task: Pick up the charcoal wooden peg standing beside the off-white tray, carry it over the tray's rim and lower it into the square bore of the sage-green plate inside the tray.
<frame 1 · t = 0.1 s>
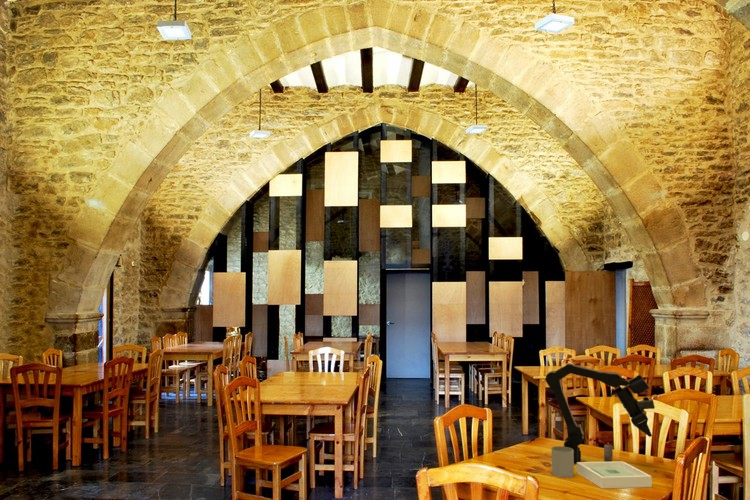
hand: (650, 434, 247), 15 cm above the table, tool tilted 30°, fingers open, 9 cm apart
peg: (608, 467, 250), on the table
cup: (562, 474, 239), on the table
tray: (612, 479, 233), on the table
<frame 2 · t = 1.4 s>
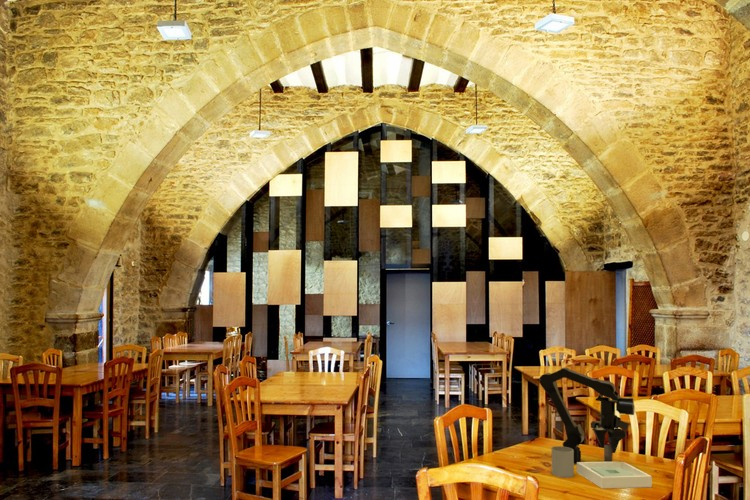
hand: (607, 449, 250), 7 cm above the table, tool pointing down, fingers open, 9 cm apart
nothing on the table moved.
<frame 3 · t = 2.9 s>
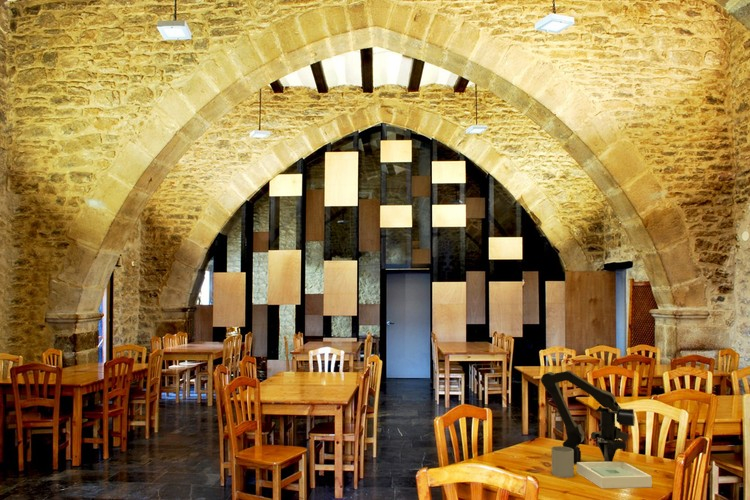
hand: (608, 461, 250), 3 cm above the table, tool pointing down, fingers closed on peg, 3 cm apart
peg: (608, 467, 250), on the table, touching gripper
everything else where it was.
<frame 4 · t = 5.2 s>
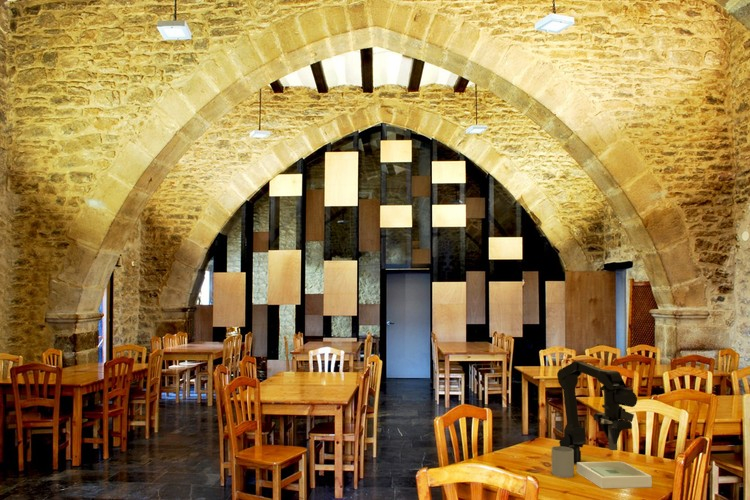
hand: (612, 442, 237), 13 cm above the table, tool pointing down, fingers closed on peg, 3 cm apart
peg: (613, 449, 236), point 11 cm above the table, touching gripper
everything else where it was.
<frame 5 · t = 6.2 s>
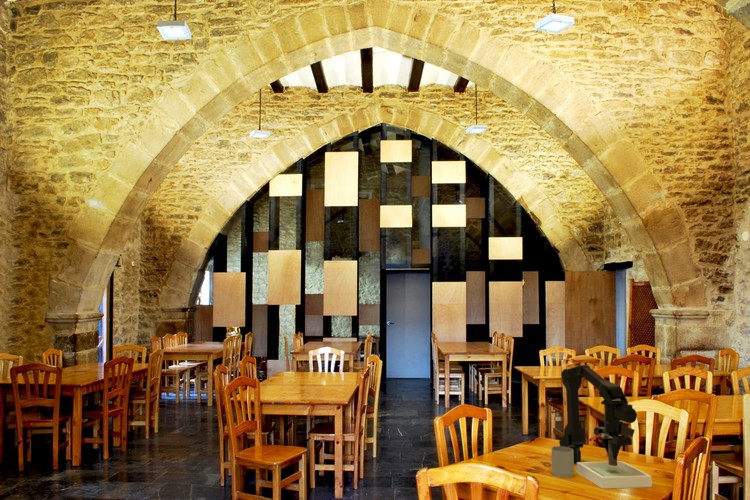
hand: (612, 458, 234), 8 cm above the table, tool pointing down, fingers closed on peg, 3 cm apart
peg: (612, 464, 233), point 6 cm above the table, touching gripper
everything else where it was.
when the fingers open (4 cm above the table, at t = 7.3 s): peg stays where it is, resting on tray.
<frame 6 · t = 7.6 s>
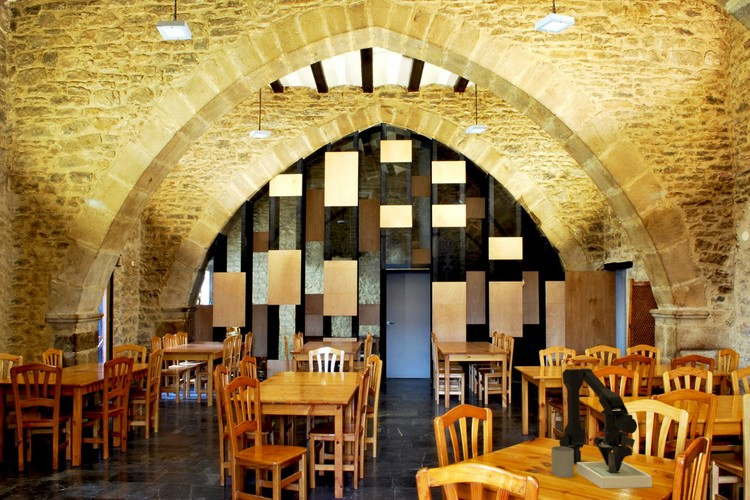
hand: (612, 468, 233), 4 cm above the table, tool pointing down, fingers open, 7 cm apart
peg: (613, 476, 233), point 1 cm above the table, touching tray
everything else where it was.
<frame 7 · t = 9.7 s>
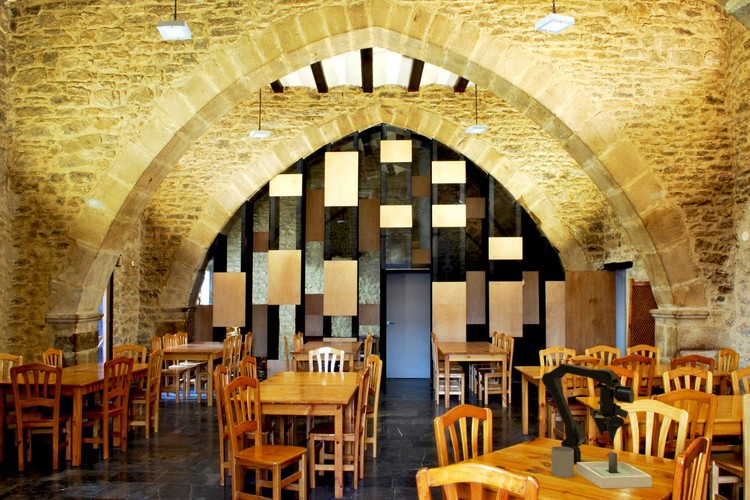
hand: (606, 437, 248), 13 cm above the table, tool pointing down, fingers open, 9 cm apart
nothing on the table moved.
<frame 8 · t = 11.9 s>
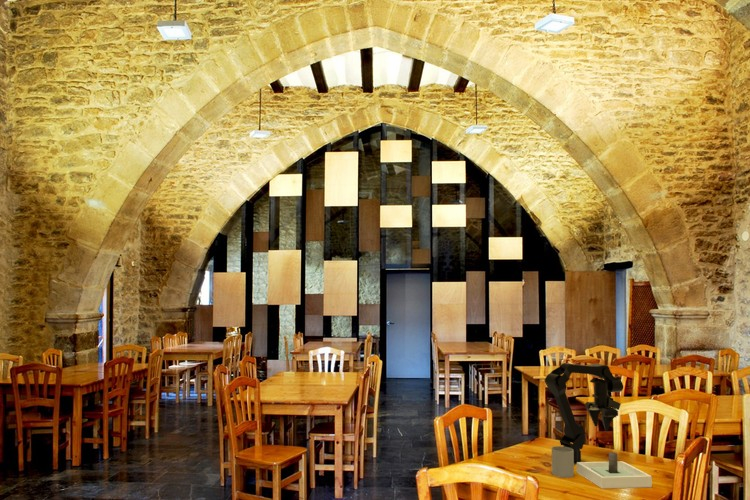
hand: (601, 428, 264), 13 cm above the table, tool pointing down, fingers open, 9 cm apart
nothing on the table moved.
at the end: peg 0.1 cm off-centre on the tray, point 1.0 cm above the tray's base; peg tilted 0°; the gripper is holding nothing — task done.
